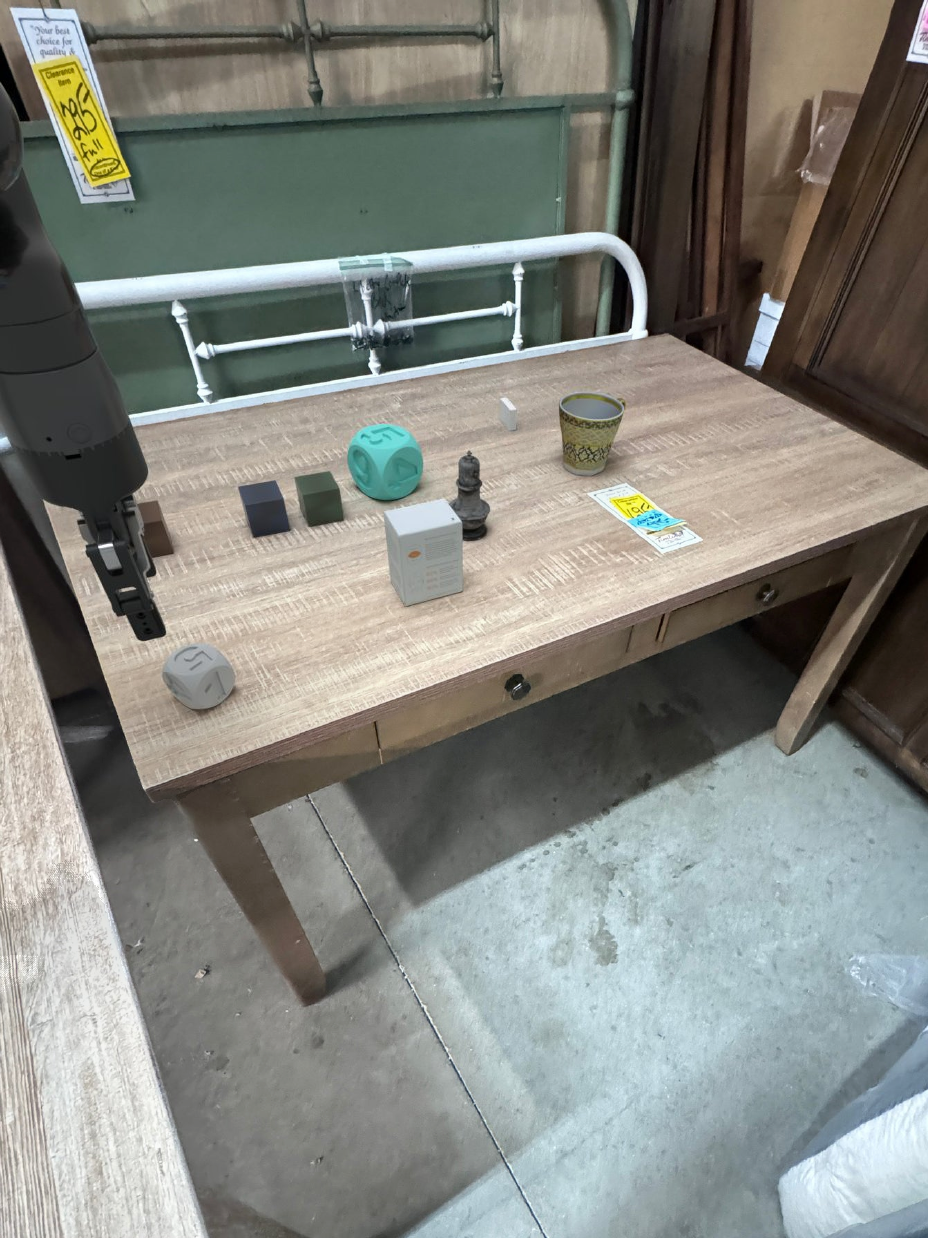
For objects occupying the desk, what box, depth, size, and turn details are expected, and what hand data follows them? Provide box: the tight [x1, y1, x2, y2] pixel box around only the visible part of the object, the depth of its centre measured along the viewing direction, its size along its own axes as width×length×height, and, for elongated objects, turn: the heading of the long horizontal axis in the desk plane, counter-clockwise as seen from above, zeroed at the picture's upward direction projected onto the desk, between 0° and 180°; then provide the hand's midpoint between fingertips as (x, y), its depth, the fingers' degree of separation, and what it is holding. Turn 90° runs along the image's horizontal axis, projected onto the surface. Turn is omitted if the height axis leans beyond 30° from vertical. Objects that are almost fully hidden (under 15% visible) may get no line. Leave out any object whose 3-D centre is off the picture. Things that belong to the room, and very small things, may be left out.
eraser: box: [498, 397, 518, 432], centre depth 119 cm, size 1×5×4 cm, turn 23°
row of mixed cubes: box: [137, 470, 345, 558], centre depth 92 cm, size 28×5×5 cm, turn 115°
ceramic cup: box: [558, 391, 627, 477], centre depth 108 cm, size 13×10×10 cm
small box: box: [382, 498, 464, 607], centre depth 84 cm, size 8×6×10 cm
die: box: [161, 642, 236, 710], centre depth 71 cm, size 5×5×5 cm
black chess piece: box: [448, 449, 491, 542], centre depth 92 cm, size 6×6×12 cm
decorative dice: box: [346, 423, 424, 501], centre depth 101 cm, size 8×8×8 cm
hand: (148, 605), depth 58 cm, fingers open, 8 cm apart
